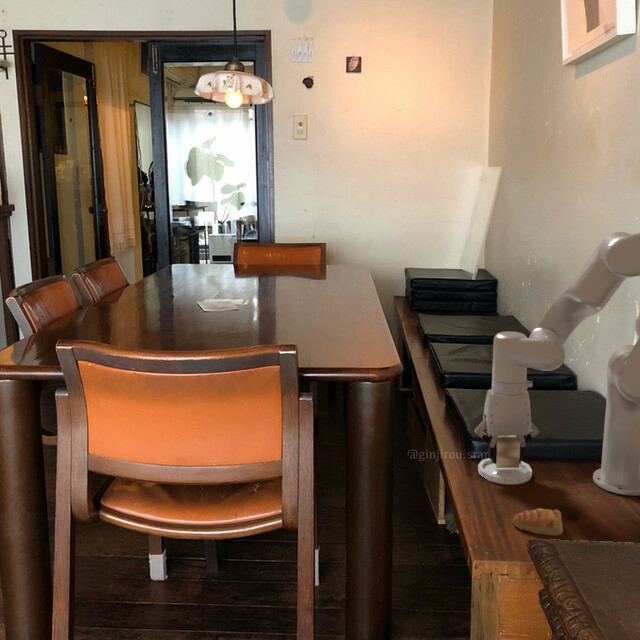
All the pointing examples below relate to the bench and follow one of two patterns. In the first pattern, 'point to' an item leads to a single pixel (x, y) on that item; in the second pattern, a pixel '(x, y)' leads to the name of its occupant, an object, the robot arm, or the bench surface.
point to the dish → (504, 473)
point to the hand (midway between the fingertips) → (505, 460)
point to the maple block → (507, 451)
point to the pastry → (540, 521)
